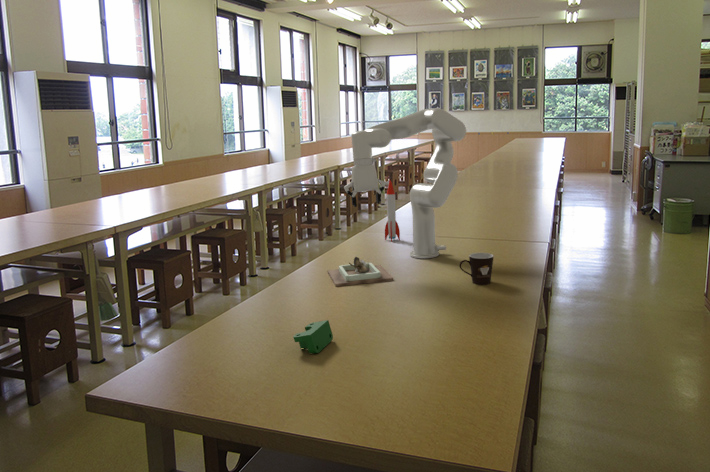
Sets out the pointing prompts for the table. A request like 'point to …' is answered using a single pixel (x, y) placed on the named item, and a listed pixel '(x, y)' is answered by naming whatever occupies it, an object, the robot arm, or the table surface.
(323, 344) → the clamp
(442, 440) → the table surface
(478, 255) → the coffee mug
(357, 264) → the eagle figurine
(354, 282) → the jig board
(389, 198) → the toy rocket
